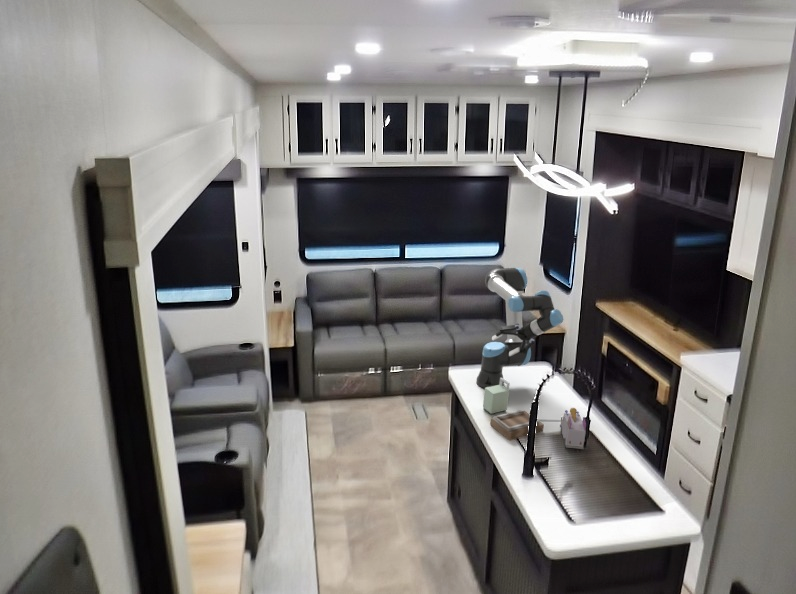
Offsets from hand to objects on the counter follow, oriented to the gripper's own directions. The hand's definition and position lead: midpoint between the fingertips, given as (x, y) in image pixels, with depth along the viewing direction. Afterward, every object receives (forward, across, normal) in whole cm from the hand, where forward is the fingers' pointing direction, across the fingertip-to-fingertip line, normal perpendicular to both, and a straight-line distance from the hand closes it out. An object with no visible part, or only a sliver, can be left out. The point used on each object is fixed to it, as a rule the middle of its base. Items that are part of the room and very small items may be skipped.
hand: (500, 346), depth 322 cm
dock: (+2, +18, -40) cm, 44 cm away
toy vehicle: (-17, +35, -44) cm, 59 cm away
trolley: (+14, +15, -25) cm, 33 cm away
